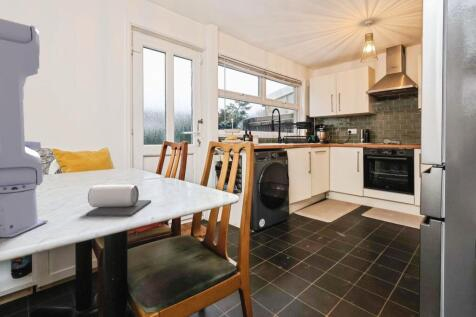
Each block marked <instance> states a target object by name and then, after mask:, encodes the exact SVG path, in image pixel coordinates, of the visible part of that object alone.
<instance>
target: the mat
mask: <svg viewBox="0 0 476 317" xmlns="http://www.w3.org/2000/svg"><path fill="white" fill-rule="evenodd" d="M150 203H152V200H151V199H138V202H137V204H136V205H132V206H128V207H96V208H94V209H93V210H91V211H88V212H86V216H87V217H88V216H89V217H90V216H91V217H92V216H94V217H97V216H98V217H100V216H101V217H103V216H104V217H132V216H134V215H135V214H136V213H137V212H139V211H141V210H142V209H144V208H145V207H147V205H149V204H150Z"/></svg>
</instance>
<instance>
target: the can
mask: <svg viewBox="0 0 476 317" xmlns="http://www.w3.org/2000/svg"><path fill="white" fill-rule="evenodd" d="M139 194H140V192H139V188H138V186H137V185H133V184H129V183H127V184H96V185H95V184H94V185H93V186H92V187H90V188H89V190H88V193H87V202H88V204H89V206H91V207H92V208H99V207H128V206H132V205H136V204H137V202H138V200H139V196H140V195H139Z"/></svg>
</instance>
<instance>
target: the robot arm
mask: <svg viewBox="0 0 476 317" xmlns="http://www.w3.org/2000/svg"><path fill="white" fill-rule="evenodd" d="M39 33H40V32H39V30H38V29H37V28H36V26H35V25H27V24H23V23H21V22H20V23H19V22H14V21H12V20H7V19H2V18H0V238H12V237H16V236H17V235H20V234H22V233H25V232H27V231H29V230H31V229H34V228H36V227H39V226H41V225H44V224H46V223H48V219H38V207H37V206H38V205H37V186H40V185H41V184H42V183H43V179H44V176H43V175H44V174H43V165H42V164H43V163H42V159H41V155H40V154H39V152H37V151H36V150H42V148H41V147H42V146H41V142H40V141H30V140H29V141H27V140H26V138H25V137H26V136H25V115H24V114H25V112H24V98H25V93H24V92H25V91H24V90H25V89H24V87H25V84H26V81H27V78H28V77H30V76H35V75H37V74H38V72H39V71H38V70H39V69H40V53H41V52H40V48H41V47H40V34H39Z"/></svg>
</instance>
